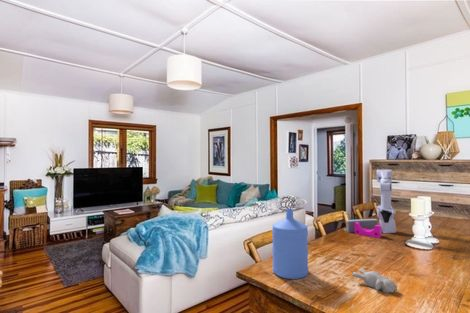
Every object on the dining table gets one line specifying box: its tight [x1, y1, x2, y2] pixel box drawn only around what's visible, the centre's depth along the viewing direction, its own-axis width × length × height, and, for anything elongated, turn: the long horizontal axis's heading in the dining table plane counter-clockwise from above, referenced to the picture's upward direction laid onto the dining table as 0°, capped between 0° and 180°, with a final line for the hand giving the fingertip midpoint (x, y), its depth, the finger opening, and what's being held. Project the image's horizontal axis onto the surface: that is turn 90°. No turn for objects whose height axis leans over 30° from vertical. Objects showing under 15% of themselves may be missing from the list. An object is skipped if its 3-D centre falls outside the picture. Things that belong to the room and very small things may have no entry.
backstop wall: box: [343, 218, 379, 233], centre depth 188 cm, size 22×6×8 cm, turn 100°
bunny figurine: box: [351, 268, 398, 294], centre depth 107 cm, size 10×5×15 cm
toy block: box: [354, 222, 383, 239], centre depth 178 cm, size 15×6×8 cm, turn 53°
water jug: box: [271, 208, 309, 280], centre depth 120 cm, size 16×16×28 cm
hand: (386, 222), depth 172 cm, fingers closed
